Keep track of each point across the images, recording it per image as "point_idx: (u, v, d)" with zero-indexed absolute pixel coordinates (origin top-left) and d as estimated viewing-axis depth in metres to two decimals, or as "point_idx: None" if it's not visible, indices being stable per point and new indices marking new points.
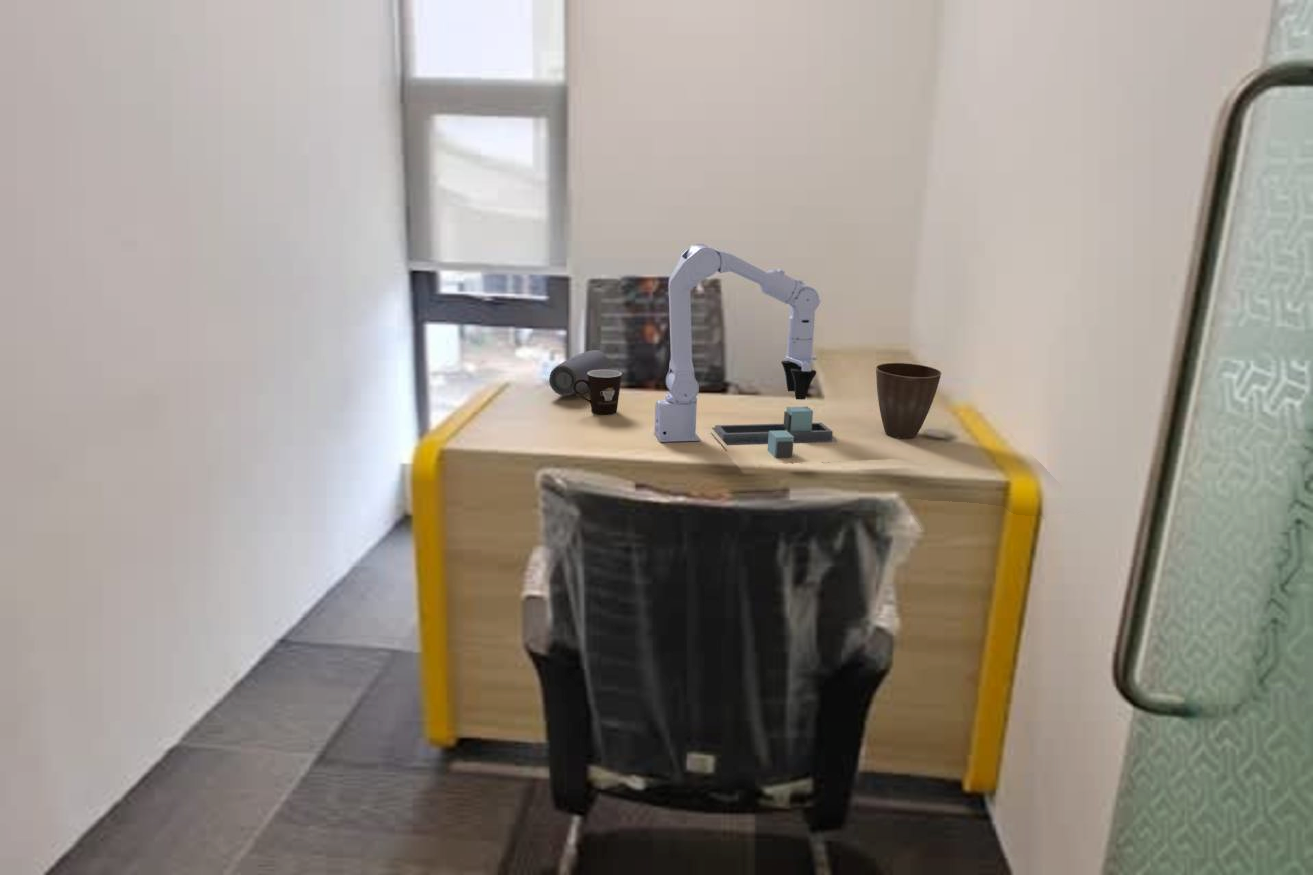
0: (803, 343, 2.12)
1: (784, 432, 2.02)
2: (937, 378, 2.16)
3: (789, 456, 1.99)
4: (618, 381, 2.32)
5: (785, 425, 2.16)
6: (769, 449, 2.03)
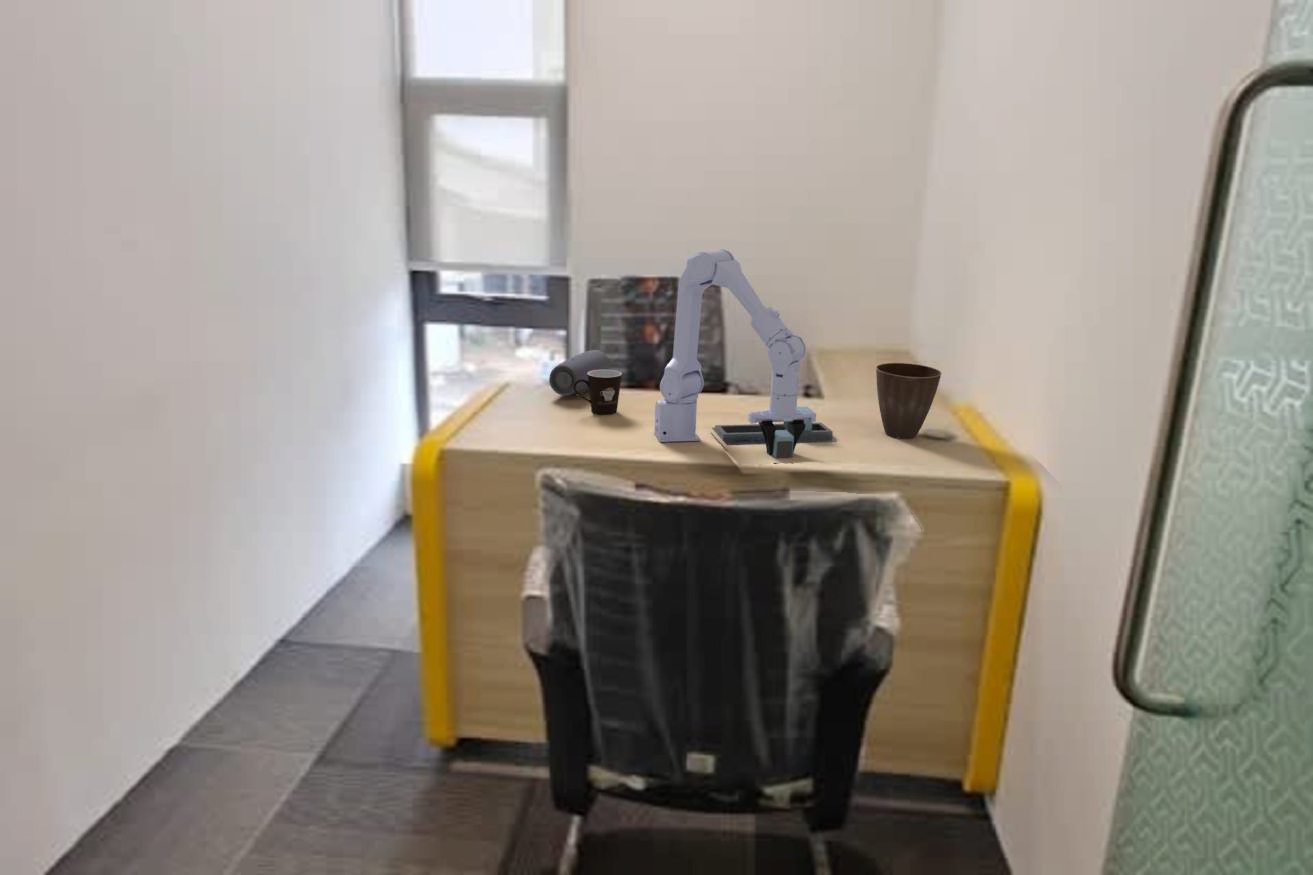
0: (771, 396, 1.98)
1: (784, 432, 2.02)
2: (937, 378, 2.16)
3: (789, 456, 1.99)
4: (618, 381, 2.32)
5: (785, 425, 2.16)
6: None
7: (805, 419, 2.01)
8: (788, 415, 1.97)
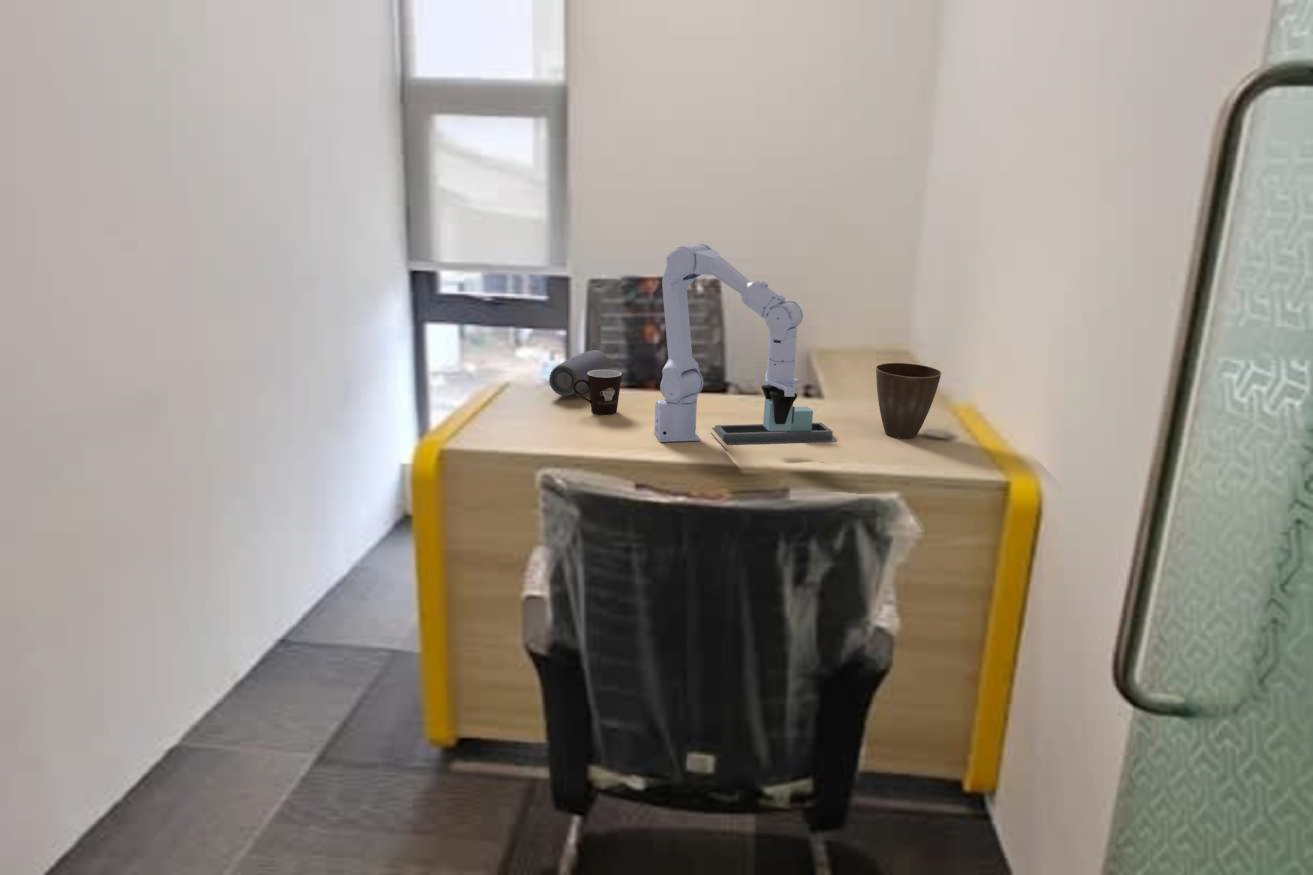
0: (785, 365, 1.96)
1: None
2: (937, 378, 2.16)
3: None
4: (618, 381, 2.32)
5: None
6: None
7: None
8: None
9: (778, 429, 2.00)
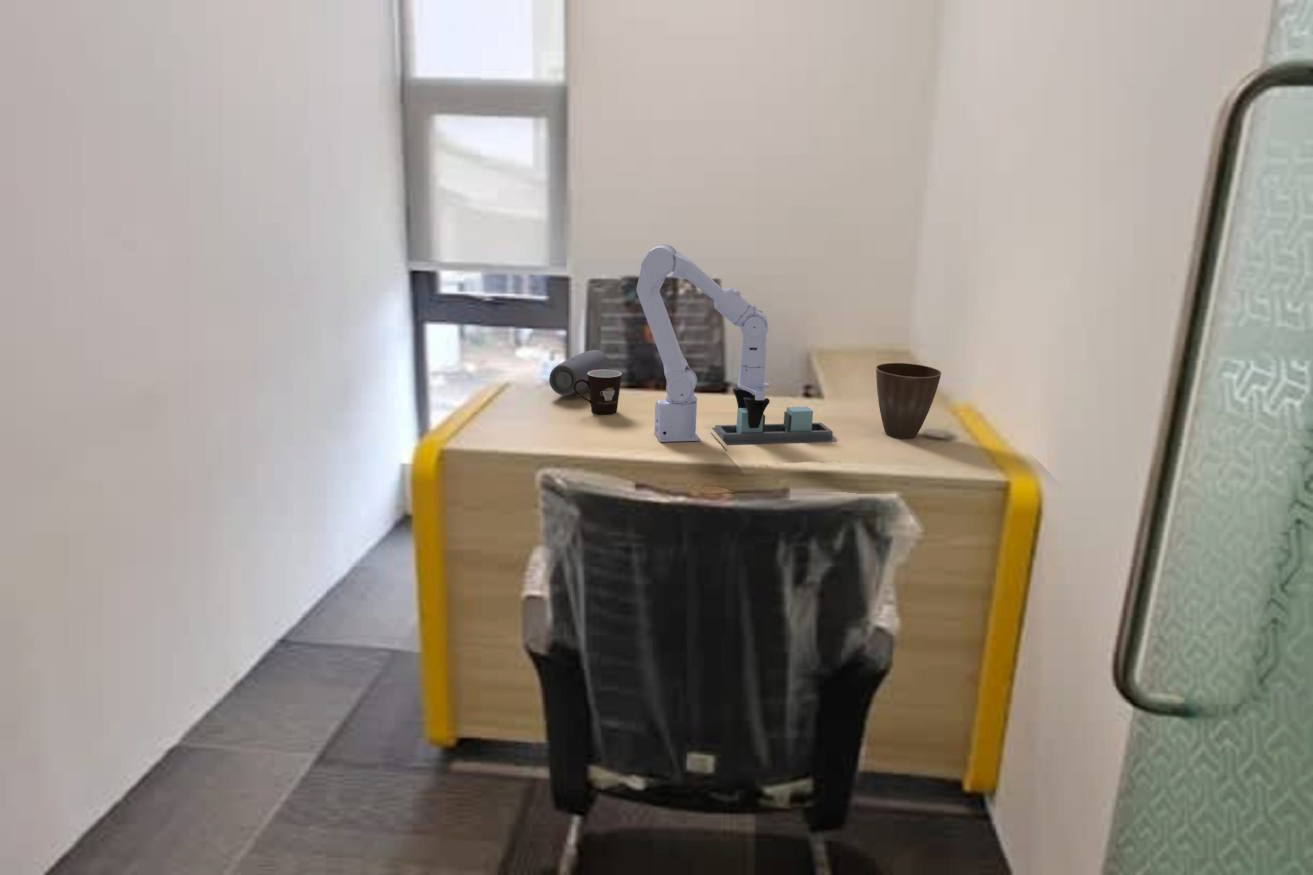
0: (755, 371, 2.08)
1: (745, 409, 2.14)
2: (937, 378, 2.16)
3: None
4: (618, 381, 2.32)
5: (785, 425, 2.16)
6: (746, 428, 2.12)
7: None
8: None
9: None
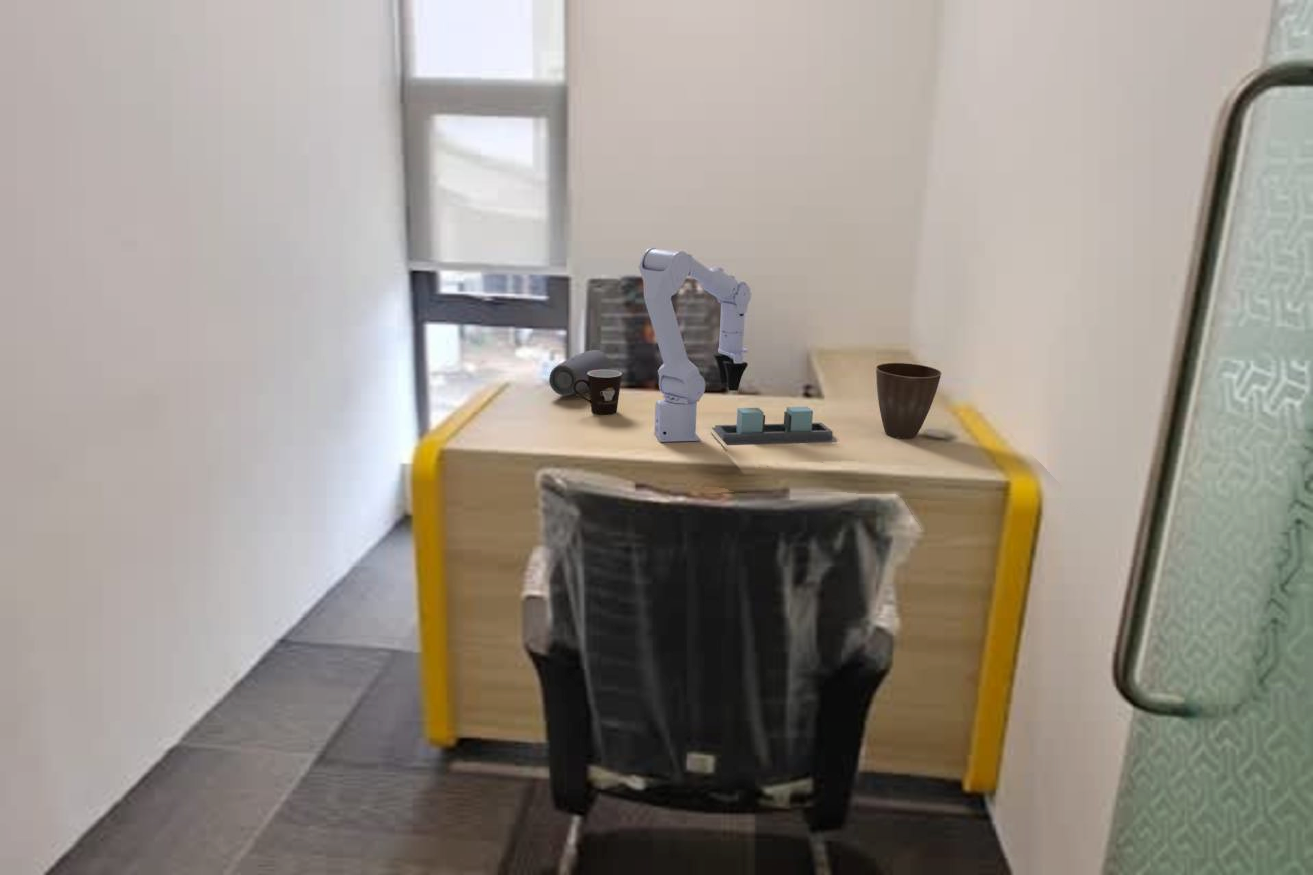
0: (734, 336, 2.20)
1: (745, 409, 2.14)
2: (937, 378, 2.16)
3: None
4: (618, 381, 2.32)
5: (785, 425, 2.16)
6: (746, 428, 2.12)
7: None
8: None
9: None
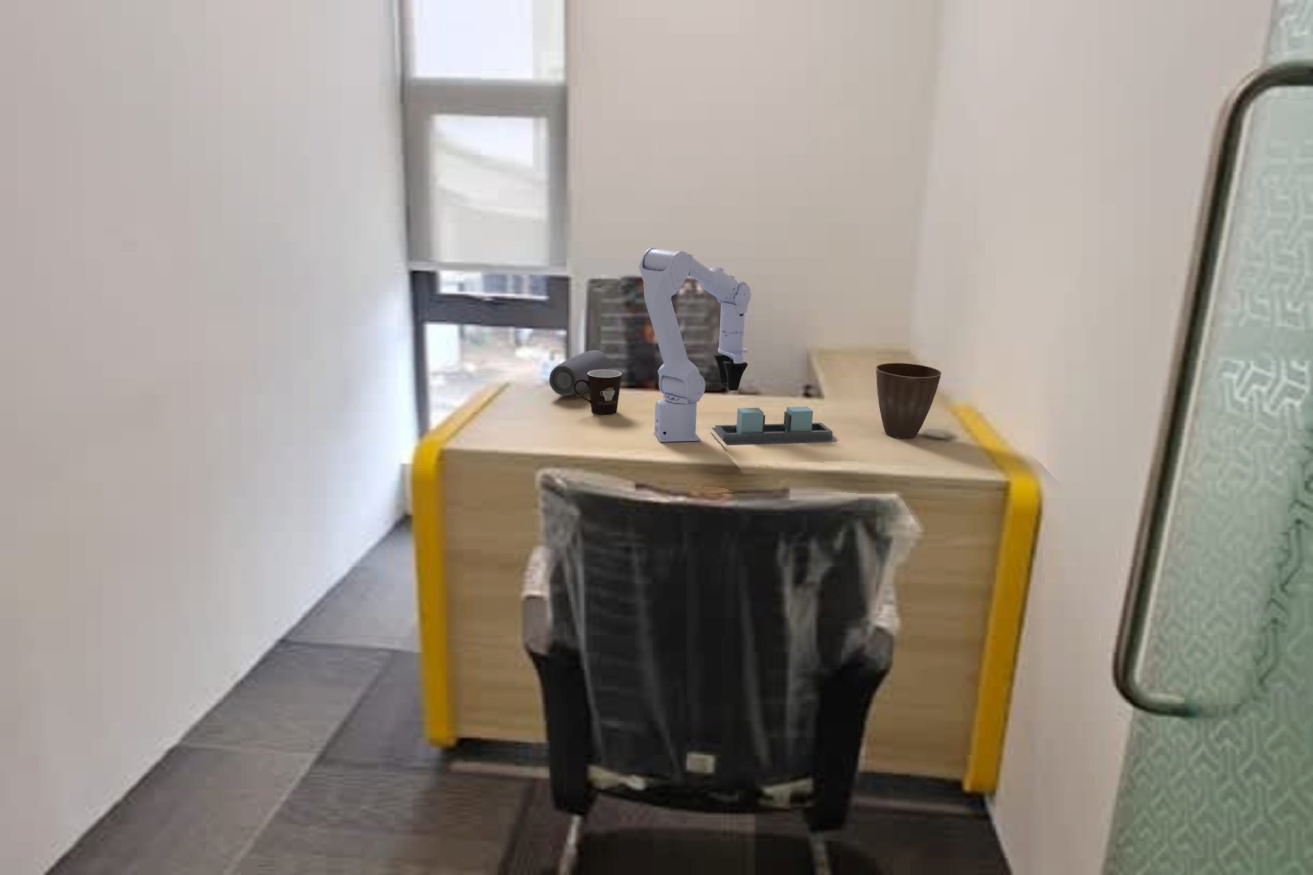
0: (734, 336, 2.20)
1: (745, 409, 2.14)
2: (937, 378, 2.16)
3: None
4: (618, 381, 2.32)
5: (785, 425, 2.16)
6: (746, 428, 2.12)
7: None
8: None
9: None
